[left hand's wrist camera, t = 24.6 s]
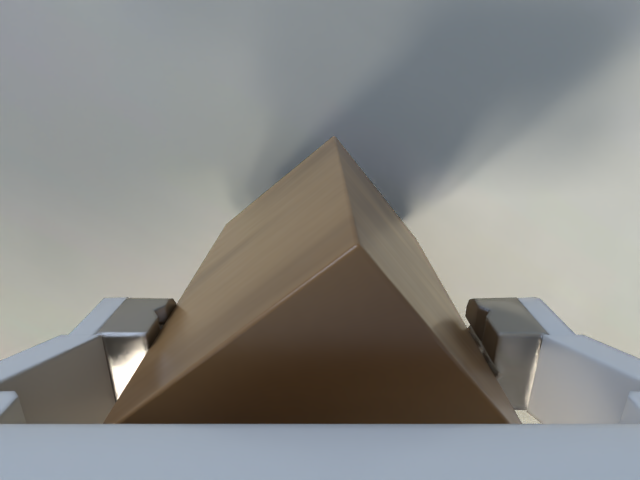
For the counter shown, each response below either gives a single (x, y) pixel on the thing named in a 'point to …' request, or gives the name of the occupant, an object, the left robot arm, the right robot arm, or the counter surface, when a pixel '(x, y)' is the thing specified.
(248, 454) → the left robot arm
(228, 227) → the brown wooden block
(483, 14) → the counter surface
